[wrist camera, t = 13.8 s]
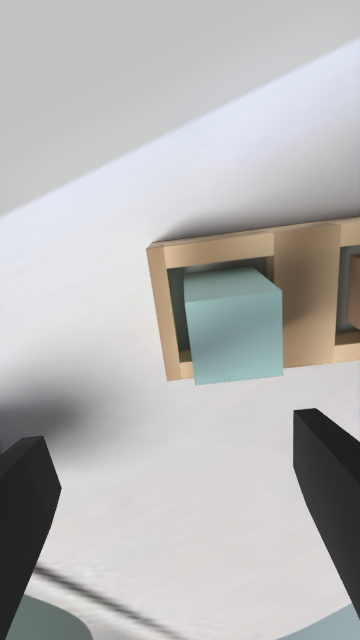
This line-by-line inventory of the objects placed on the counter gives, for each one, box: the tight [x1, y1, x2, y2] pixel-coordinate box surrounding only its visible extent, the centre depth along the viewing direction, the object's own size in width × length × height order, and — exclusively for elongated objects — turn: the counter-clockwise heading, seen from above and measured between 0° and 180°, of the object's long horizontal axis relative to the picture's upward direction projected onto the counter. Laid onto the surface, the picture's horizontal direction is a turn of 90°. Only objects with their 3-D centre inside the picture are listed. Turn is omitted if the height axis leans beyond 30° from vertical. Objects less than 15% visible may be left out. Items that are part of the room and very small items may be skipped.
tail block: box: [183, 266, 283, 385], centre depth 14 cm, size 4×4×5 cm
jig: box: [146, 216, 360, 381], centre depth 16 cm, size 18×7×3 cm, turn 97°
